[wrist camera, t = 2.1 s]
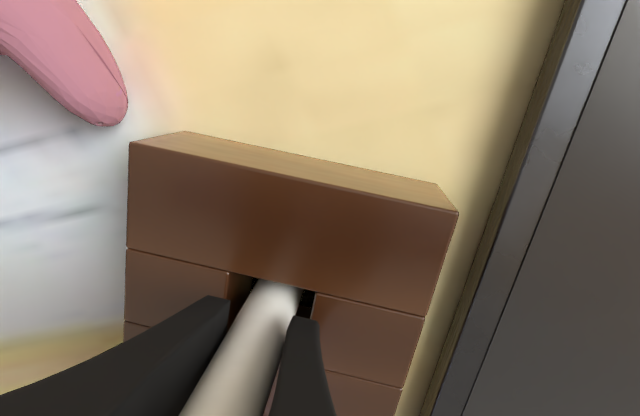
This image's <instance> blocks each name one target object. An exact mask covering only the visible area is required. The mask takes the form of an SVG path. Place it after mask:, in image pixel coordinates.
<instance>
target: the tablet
mask: <svg viewBox="0 0 640 416" xmlns="http://www.w3.org/2000/svg"><path fill="white" fill-rule="evenodd" d="M419 416H640V0H566V1H565V4H564V7H563V9H562V12H561V15H560V18H559V21H558V24H557V26H556V29H555V32H554V35H553V38H552V41H551V43H550V46H549V49H548V52H547V55H546V58H545V60H544V63H543V66H542V69H541V72H540V75H539V77H538V80H537V83H536V86H535V89H534V92H533V95H532V97H531V100H530V103H529V106H528V109H527V112H526V114H525V117H524V120H523V123H522V126H521V129H520V131H519V134H518V137H517V140H516V143H515V146H514V148H513V151H512V154H511V157H510V160H509V163H508V165H507V168H506V171H505V174H504V177H503V180H502V182H501V185H500V188H499V191H498V194H497V197H496V199H495V202H494V205H493V208H492V211H491V214H490V217H489V219H488V222H487V225H486V228H485V231H484V234H483V236H482V239H481V242H480V245H479V248H478V251H477V253H476V256H475V259H474V262H473V265H472V268H471V270H470V273H469V276H468V279H467V282H466V285H465V287H464V290H463V293H462V296H461V299H460V302H459V304H458V307H457V310H456V313H455V316H454V319H453V322H452V324H451V327H450V330H449V333H448V336H447V339H446V341H445V344H444V347H443V350H442V353H441V356H440V358H439V361H438V364H437V367H436V370H435V373H434V375H433V378H432V381H431V384H430V387H429V390H428V392H427V395H426V398H425V401H424V404H423V407H422V409H421V412H420V415H419Z"/></svg>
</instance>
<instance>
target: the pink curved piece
mask: <svg viewBox="0 0 640 416" xmlns="http://www.w3.org/2000/svg"><path fill="white" fill-rule="evenodd" d="M0 55H7V56H9V57H10V58H11V59H12V60H13V61H15V62H16V63H17V64H18V65H19V66H21V67H22V68H23V69H24V70H25V71H26V72H27V73H28V74H29V75H30V76H31V77H32V78H33V79H34V80H35V81H36V82H37V83H38V84H39V85H40V86H41V87H42V88H44V89H45V90H46V91H47V92H48V93H49V94H50V95H51V96H52V97H53V98H54V99H55V100H56V101H58V102H59V103H60V104H61V105H62V106H64V107H65V108H66V109H67V110H68V111H70V112H71V113H73V114H75V115H77V116H78V117H80V118H82V119H84V120H85V121H87V122H89V123H91V124H93V125H96V126H106V127H108V126H114V125H116V124H118V123H120V122H121V120H122V119H123V118H124V116H125V114H126V111H127V108H128V98H127V92H126V88H125V85H124V82H123V79H122V76H121V73H120V71H119V68H118V66H117V64H116V62H115V59H114V57H113V55H112V53H111V52H110V50H109V48H108V46H107V45H106V43H105V41H104V40H103V38H102V36H101V34H100V33H99V31H98V30H97V29H96V27H95V26H94V25H93V23H92V22H91V20H90V19H89V18H88V16H87V15H86V14H85V12H84V11H83V9H82V8H81V7H80V5H79V4H78V3H77V1H76V0H0Z"/></svg>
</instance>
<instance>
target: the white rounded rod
mask: <svg viewBox="0 0 640 416" xmlns="http://www.w3.org/2000/svg"><path fill="white" fill-rule="evenodd" d="M303 290H304V289H303V288H298V287H294V286H290V285H285V284H281V283H277V282H273V281H268V280H264V279H260V278H259V279H258V281H257V283H256V284H255V286H254V288H253V290H252V291H251V293H250V295H249V296H248V298H247V300H246V302H245V303H244V305H243V307H242V308H241V310H240V312H239V313H238V315H237V317H236V319H235V320H234V322H233V324H232V325H231V327H230V329H229V331H228V332H227V334H226V336H225V337H224V339H223V341H222V342H221V344H220V346H219V348H218V349H217V351H216V353H215V354H214V356H213V358H212V360H211V361H210V363H209V365H208V366H207V368H206V370H205V371H204V373H203V375H202V377H201V378H200V380H199V382H198V383H197V385H196V387H195V389H194V390H193V392H192V394H191V395H190V397H189V399H188V400H187V402H186V404H185V406H184V407H183V409H182V411H181V412H180V414H179V416H263V414H264V411H265V408H266V405H267V402H268V398H269V395H270V392H271V389H272V386H273V383H274V380H275V377H276V374H277V371H278V368H279V364H280V361H281V357H282V352H283V347H284V342H285V336H286V331H287V328H288V326H289V324H290V321H291V319H292V317H293V315H296V312H297V309H298V306H299V303H300V300H301V297H302V293H303Z"/></svg>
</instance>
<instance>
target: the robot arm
mask: <svg viewBox="0 0 640 416" xmlns="http://www.w3.org/2000/svg"><path fill="white" fill-rule="evenodd" d="M229 308H230V300H227V299H223V298H219V297H214V296H210V295H207V296H205V297H203V298H201V299H200V300H198V301H196V302H195V303H193V304H191V305H189V306H188V307H186V308H184V309H183V310H181V311H179V312H178V313H176V314H174V315H172V316H171V317H169V318H167V319H166V320H164V321H162V322H160V323H159V324H157V325H155V326H153V327H151V328H150V329H148V330H146V331H144V332H143V333H141V334H139V335H137V336H135V337H133V338H131V339H129V340H127V341H125V342H123V343H121V344H119V345H117V346H115V347H113V348H111V349H109V350H107V351H105V352H103V353H102V354H100V355H98V356H95V357H93V358H91V359H89V360H87V361H85V362H82V363H80V364H78V365H76V366H73V367H71V368H69V369H66V370H64V371H62V372H59V373H57V374H54V375H52V376H50V377H47V378H45V379H42V380H40V381H37V382H35V383H32V384H30V385H27V386H24V387H21V388H19V389H16V390H13V391H10V392H7V393H5V394H2V395H0V416H179V414H180V412H181V411H182V409H183V407H184V406H185V404H186V402H187V400H188V399H189V397H190V395H191V394H192V392H193V390H194V389H195V387H196V385H197V383H198V382H199V380H200V378H201V377H202V375H203V373H204V371H205V370H206V368H207V366H208V365H209V363H210V361H211V360H212V358H213V356H214V354H215V353H216V351H217V349H218V348H219V346H220V344H221V342H222V341H223V339H224V337H225V336H226V331H227V323H228V316H229ZM268 416H337V415H336V411H335V408H334V405H333V402H332V398H331V394H330V391H329V387H328V382H327V378H326V374H325V369H324V364H323V359H322V353H321V346H320V325H319V323H318V322H317V321H316V320H312V319H307V318H303V317H299V316H295V315H293V317H292V319H291V321H290V324H289V326H288V328H287V331H286V336H285V342H284V347H283V352H282V357H281V363H280V368H279V373H278V378H277V383H276V389H275V393H274V397H273V401H272V405H271V409H270V412H269V415H268Z"/></svg>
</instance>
